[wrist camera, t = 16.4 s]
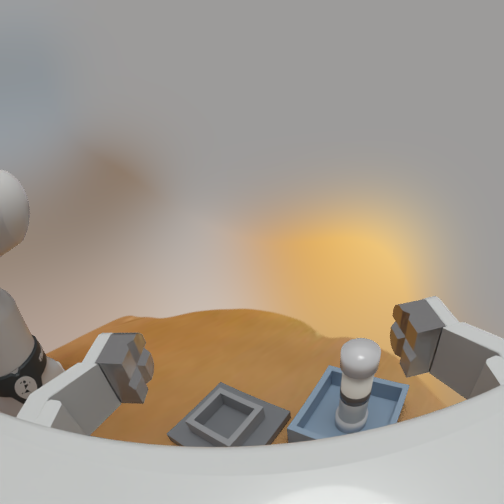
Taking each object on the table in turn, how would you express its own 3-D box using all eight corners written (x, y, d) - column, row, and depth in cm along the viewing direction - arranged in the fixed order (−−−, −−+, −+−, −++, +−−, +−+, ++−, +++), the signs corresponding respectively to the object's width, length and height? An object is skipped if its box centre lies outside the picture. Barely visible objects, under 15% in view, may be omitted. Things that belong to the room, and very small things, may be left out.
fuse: (329, 428, 34) (334, 359, 29) (342, 405, 37) (349, 334, 32) (359, 437, 32) (373, 369, 26) (370, 413, 35) (385, 343, 29)
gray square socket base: (170, 439, 36) (160, 423, 34) (222, 388, 44) (217, 370, 43) (239, 482, 29) (233, 470, 27) (290, 417, 38) (289, 400, 36)
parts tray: (288, 443, 34) (287, 428, 32) (328, 383, 42) (329, 365, 41) (375, 473, 27) (381, 459, 25) (403, 403, 36) (409, 385, 34)
